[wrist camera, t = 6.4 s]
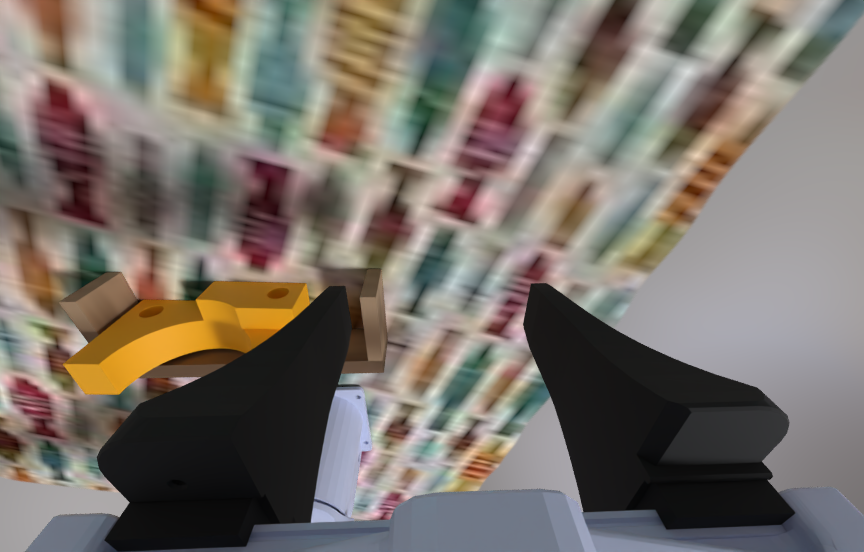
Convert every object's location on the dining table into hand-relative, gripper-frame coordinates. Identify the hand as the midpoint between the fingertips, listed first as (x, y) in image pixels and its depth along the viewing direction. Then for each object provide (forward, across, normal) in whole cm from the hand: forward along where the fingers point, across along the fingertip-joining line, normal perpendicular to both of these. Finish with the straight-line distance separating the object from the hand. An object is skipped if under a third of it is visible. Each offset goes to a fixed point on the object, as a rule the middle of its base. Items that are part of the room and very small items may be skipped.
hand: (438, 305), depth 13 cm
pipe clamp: (+10, +15, +7) cm, 20 cm away
